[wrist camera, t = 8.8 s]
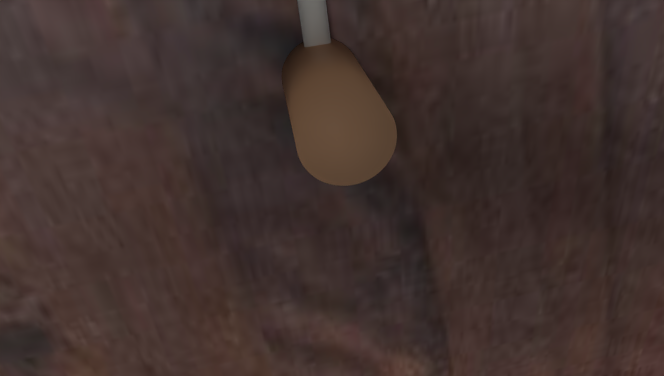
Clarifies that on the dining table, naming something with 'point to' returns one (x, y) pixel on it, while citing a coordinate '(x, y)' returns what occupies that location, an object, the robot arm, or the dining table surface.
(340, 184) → the tethered block
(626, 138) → the dining table surface
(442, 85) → the dining table surface
